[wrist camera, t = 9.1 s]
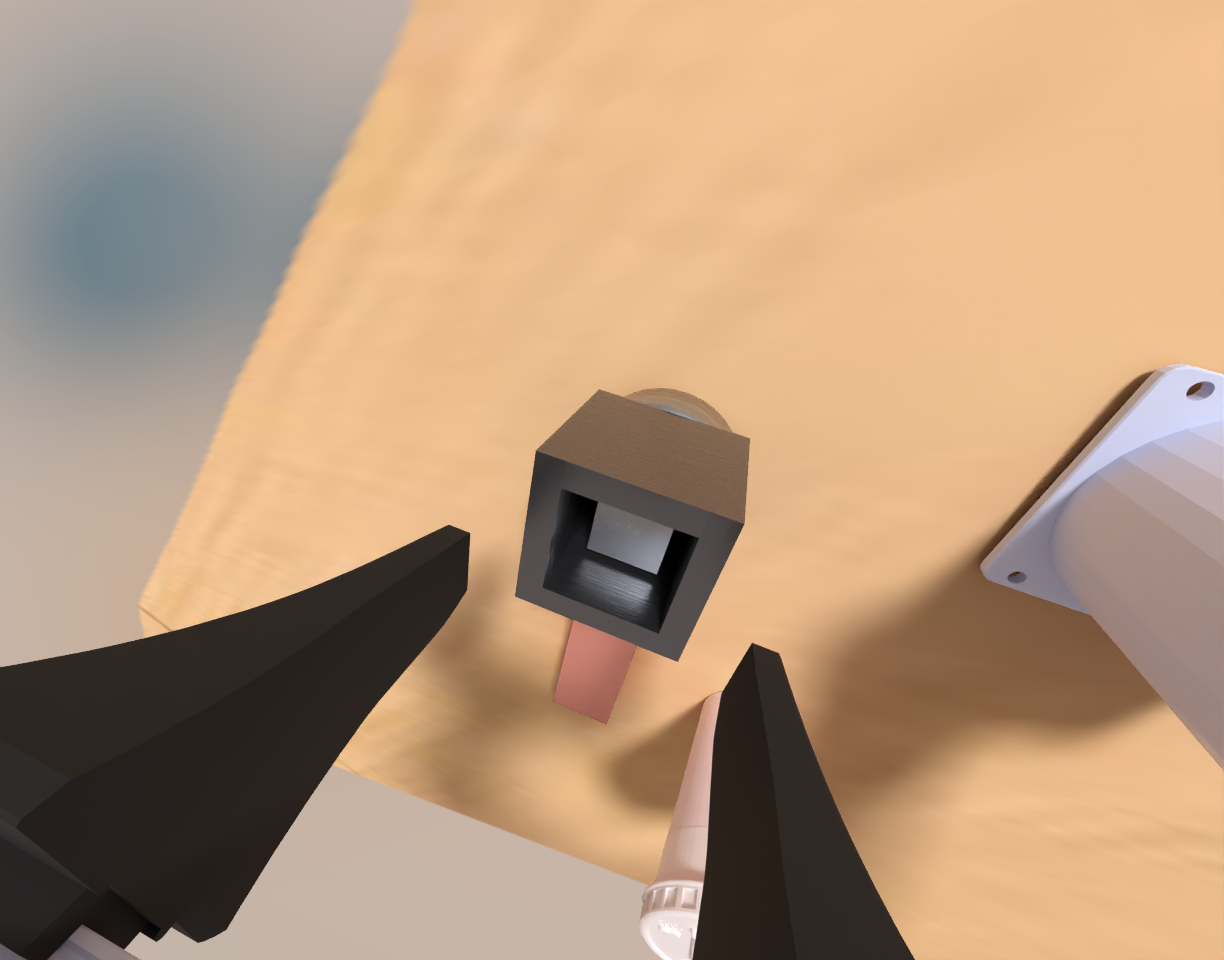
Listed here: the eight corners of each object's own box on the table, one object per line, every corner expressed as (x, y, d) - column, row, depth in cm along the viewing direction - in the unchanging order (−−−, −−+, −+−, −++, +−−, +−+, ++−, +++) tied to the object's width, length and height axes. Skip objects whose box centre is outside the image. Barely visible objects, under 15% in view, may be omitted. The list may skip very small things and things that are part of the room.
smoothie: (706, 754, 26) (661, 1175, 15) (658, 679, 24) (561, 1095, 13) (820, 751, 23) (877, 1274, 12) (775, 665, 21) (790, 1190, 10)
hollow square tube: (749, 438, 14) (744, 523, 10) (698, 556, 17) (677, 662, 13) (599, 389, 15) (535, 450, 11) (573, 510, 18) (515, 596, 14)
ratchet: (639, 702, 26) (613, 797, 22) (544, 662, 27) (502, 746, 22) (763, 416, 16) (763, 485, 12) (608, 368, 17) (554, 415, 13)
